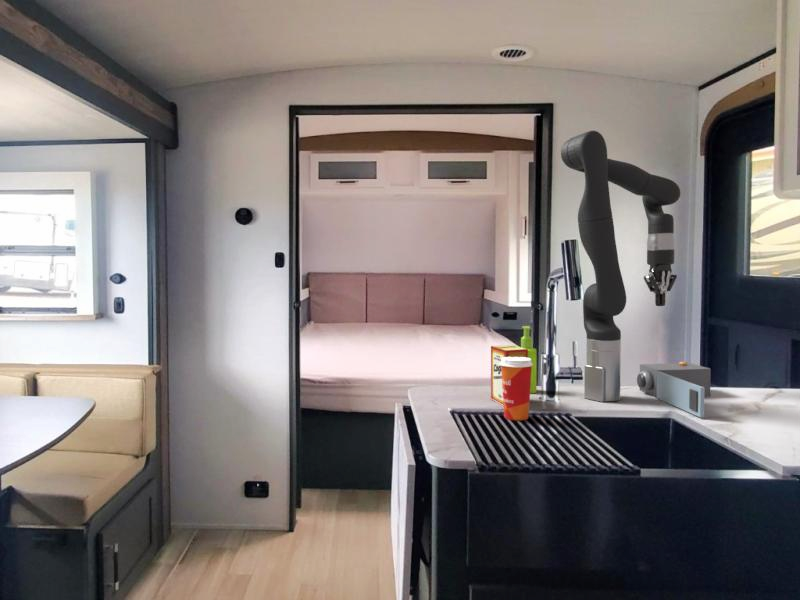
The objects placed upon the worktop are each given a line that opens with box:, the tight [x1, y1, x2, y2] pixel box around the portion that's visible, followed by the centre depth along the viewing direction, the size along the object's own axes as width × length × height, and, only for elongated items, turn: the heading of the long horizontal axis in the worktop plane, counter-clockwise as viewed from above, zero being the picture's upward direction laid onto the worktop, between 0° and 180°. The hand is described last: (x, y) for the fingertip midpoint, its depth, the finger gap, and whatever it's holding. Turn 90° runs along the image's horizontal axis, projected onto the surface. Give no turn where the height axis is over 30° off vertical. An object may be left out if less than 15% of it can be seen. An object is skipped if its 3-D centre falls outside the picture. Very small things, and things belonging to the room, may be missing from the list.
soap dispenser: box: [520, 325, 538, 394], centre depth 168 cm, size 6×7×20 cm
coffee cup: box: [500, 357, 533, 421], centre depth 138 cm, size 8×8×15 cm
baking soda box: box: [490, 344, 528, 404], centre depth 153 cm, size 10×6×16 cm
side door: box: [654, 371, 705, 418], centre depth 146 cm, size 2×22×7 cm, turn 2°
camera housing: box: [636, 361, 712, 397], centre depth 163 cm, size 10×18×9 cm, turn 95°
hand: (660, 305), depth 166 cm, fingers closed
